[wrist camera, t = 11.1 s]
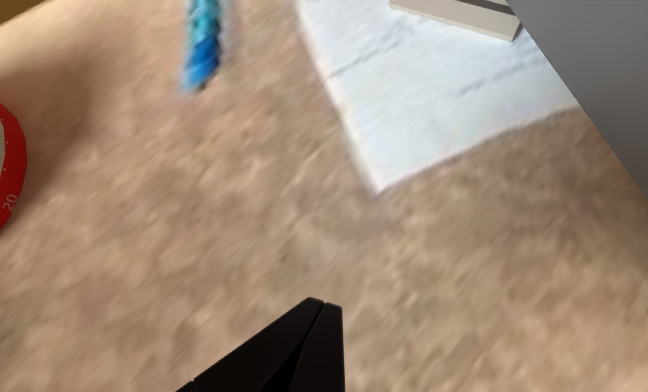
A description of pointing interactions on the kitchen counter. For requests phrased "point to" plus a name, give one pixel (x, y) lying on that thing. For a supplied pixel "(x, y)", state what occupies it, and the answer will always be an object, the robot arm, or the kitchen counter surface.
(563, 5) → the hinge panel
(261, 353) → the robot arm
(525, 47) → the kitchen counter surface
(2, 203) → the kitchen timer
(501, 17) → the label plate grey
